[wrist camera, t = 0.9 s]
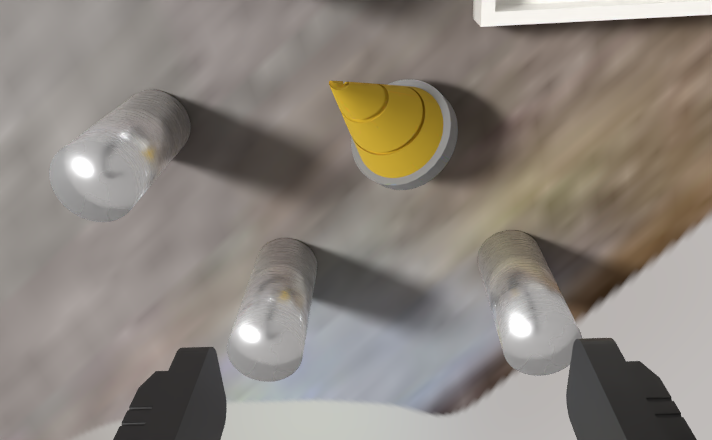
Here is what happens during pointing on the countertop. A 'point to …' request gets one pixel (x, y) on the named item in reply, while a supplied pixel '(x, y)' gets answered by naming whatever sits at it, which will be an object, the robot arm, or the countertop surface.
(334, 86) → the stepped yellow cone
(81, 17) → the countertop surface
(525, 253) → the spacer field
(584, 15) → the tray
